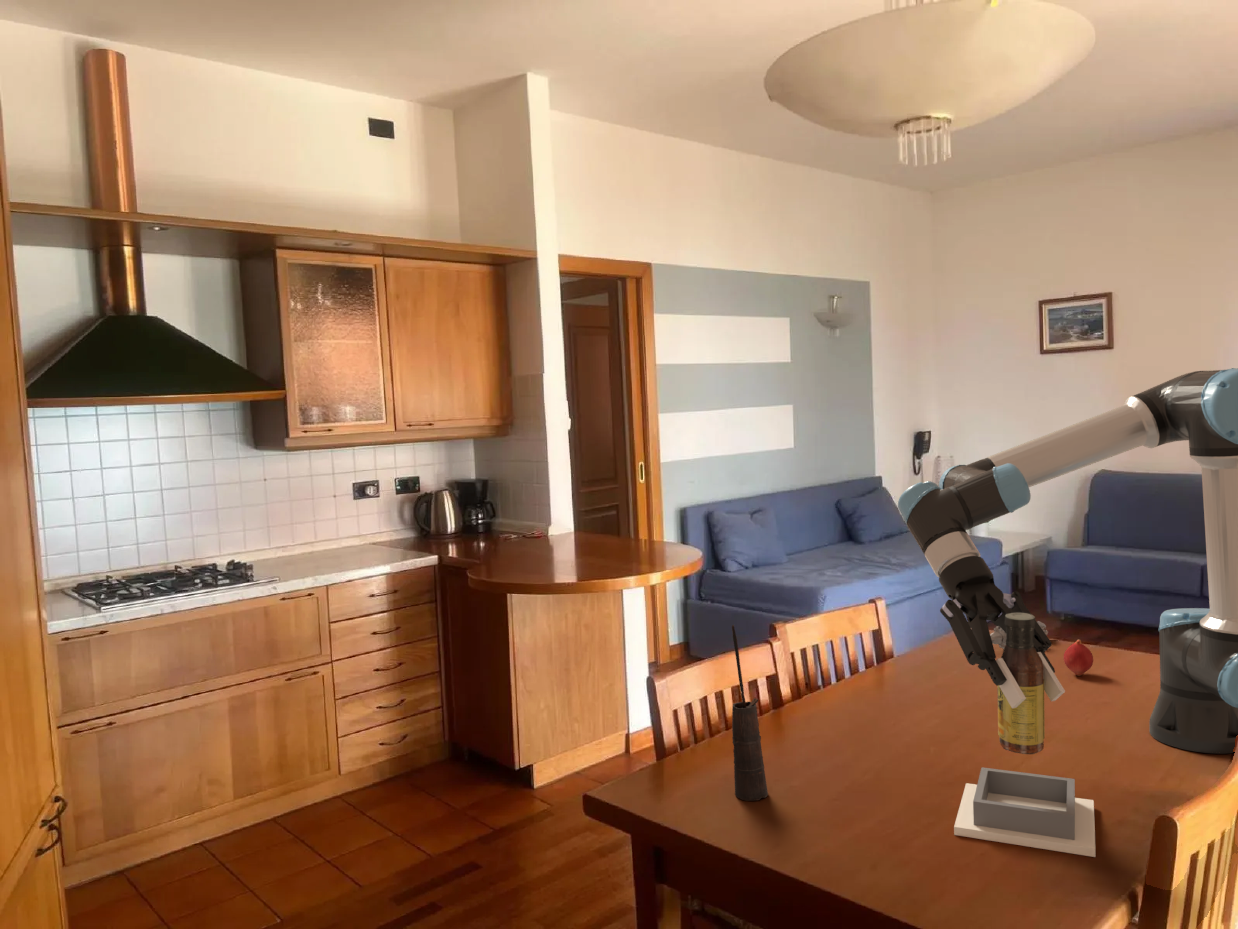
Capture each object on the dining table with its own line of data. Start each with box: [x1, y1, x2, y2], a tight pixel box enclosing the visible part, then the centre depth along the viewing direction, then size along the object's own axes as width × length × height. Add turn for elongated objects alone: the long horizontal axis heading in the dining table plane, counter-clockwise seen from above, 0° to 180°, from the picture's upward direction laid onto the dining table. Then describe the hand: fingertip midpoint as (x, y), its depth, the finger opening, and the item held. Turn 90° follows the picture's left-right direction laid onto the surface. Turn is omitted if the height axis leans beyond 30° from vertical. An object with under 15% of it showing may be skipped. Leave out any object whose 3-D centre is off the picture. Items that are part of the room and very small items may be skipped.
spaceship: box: [990, 620, 1049, 650], centre depth 221 cm, size 8×35×8 cm
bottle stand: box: [953, 766, 1096, 858], centre depth 135 cm, size 18×16×5 cm
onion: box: [1063, 639, 1094, 677], centre depth 200 cm, size 6×6×8 cm
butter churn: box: [731, 624, 769, 802], centre depth 149 cm, size 9×10×28 cm
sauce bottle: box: [997, 613, 1046, 755], centre depth 134 cm, size 7×6×20 cm
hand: (1038, 699), depth 131 cm, fingers closed on sauce bottle, 6 cm apart
